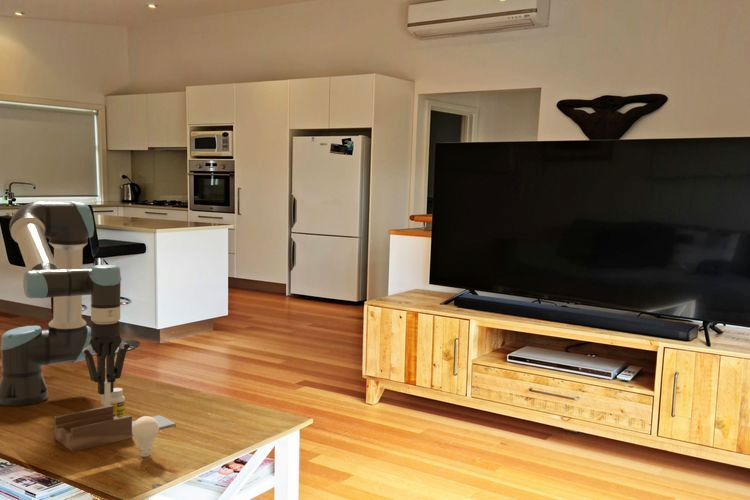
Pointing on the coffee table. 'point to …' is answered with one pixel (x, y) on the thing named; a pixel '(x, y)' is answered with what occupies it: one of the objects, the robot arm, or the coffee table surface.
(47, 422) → the coffee table surface
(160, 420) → the cover plate
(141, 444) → the light bulb
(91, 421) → the walnut box
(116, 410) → the supplement bottle
